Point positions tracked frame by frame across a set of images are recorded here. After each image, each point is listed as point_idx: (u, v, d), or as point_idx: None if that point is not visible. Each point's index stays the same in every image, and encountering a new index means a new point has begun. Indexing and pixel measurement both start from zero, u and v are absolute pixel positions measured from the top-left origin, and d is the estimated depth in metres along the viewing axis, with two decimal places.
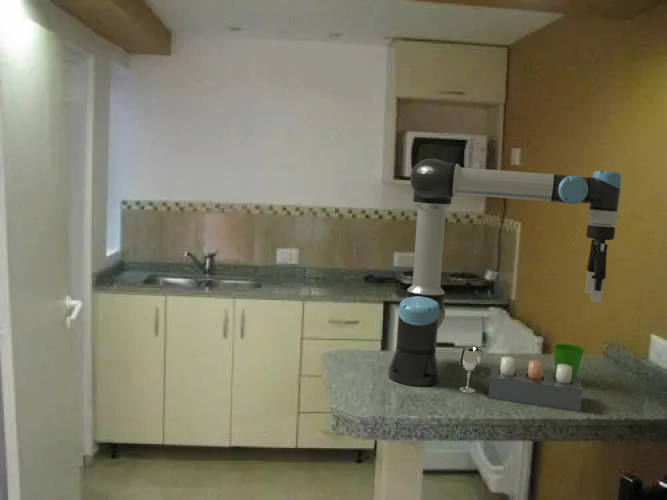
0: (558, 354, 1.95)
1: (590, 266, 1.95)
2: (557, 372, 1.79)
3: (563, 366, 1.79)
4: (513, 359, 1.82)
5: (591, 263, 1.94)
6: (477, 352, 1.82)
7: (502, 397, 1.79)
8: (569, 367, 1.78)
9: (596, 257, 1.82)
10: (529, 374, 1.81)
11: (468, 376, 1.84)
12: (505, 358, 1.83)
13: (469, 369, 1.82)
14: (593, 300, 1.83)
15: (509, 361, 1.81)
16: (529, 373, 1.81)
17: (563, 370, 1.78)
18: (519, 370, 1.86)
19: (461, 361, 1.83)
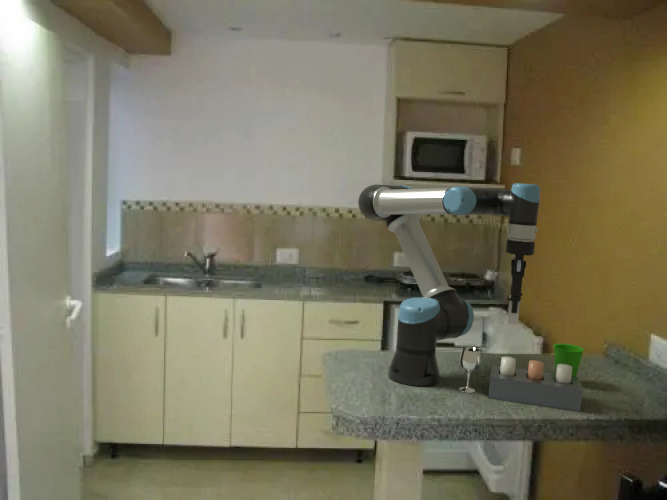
0: (558, 354, 1.95)
1: None
2: (557, 372, 1.79)
3: (563, 366, 1.79)
4: (513, 359, 1.82)
5: None
6: (477, 352, 1.82)
7: (502, 397, 1.79)
8: (569, 367, 1.78)
9: None
10: (529, 374, 1.81)
11: (468, 376, 1.84)
12: (505, 358, 1.83)
13: (469, 369, 1.82)
14: (510, 322, 1.78)
15: (509, 361, 1.81)
16: (529, 373, 1.81)
17: (563, 370, 1.78)
18: (519, 370, 1.86)
19: (461, 361, 1.83)
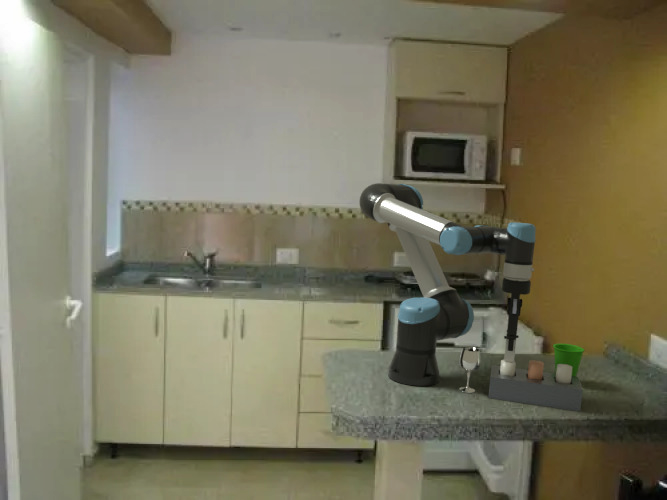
0: (558, 354, 1.95)
1: None
2: (557, 372, 1.79)
3: (563, 366, 1.79)
4: (513, 362, 1.83)
5: None
6: (477, 352, 1.82)
7: (502, 397, 1.79)
8: (569, 367, 1.78)
9: None
10: (529, 374, 1.81)
11: (468, 376, 1.84)
12: (505, 361, 1.83)
13: (469, 369, 1.82)
14: (506, 360, 1.82)
15: (509, 364, 1.81)
16: (529, 373, 1.81)
17: (563, 370, 1.78)
18: (519, 370, 1.86)
19: (461, 361, 1.83)
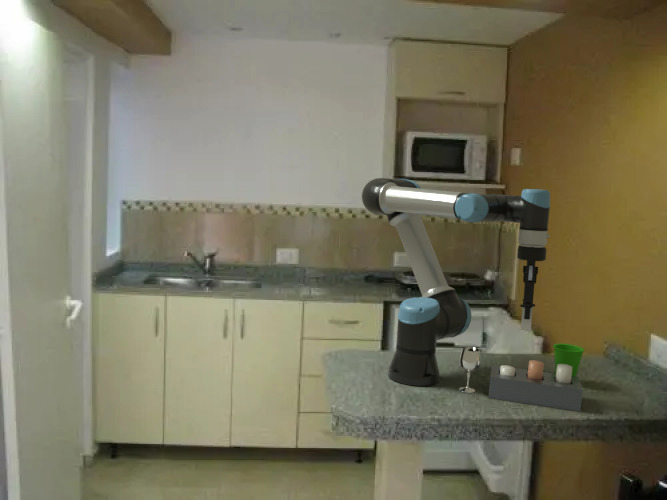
0: (558, 354, 1.95)
1: None
2: (557, 372, 1.79)
3: (563, 366, 1.79)
4: (512, 368, 1.83)
5: None
6: (477, 352, 1.82)
7: (502, 397, 1.79)
8: (569, 367, 1.78)
9: None
10: (529, 374, 1.81)
11: (468, 376, 1.84)
12: (504, 367, 1.83)
13: (469, 369, 1.82)
14: (523, 329, 1.80)
15: (508, 370, 1.81)
16: (529, 373, 1.81)
17: (563, 370, 1.78)
18: (519, 370, 1.86)
19: (461, 361, 1.83)
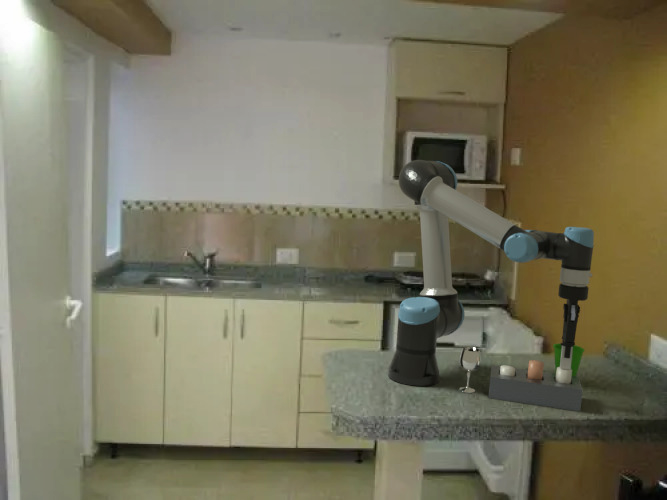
0: (558, 354, 1.95)
1: None
2: (557, 375, 1.79)
3: (563, 369, 1.79)
4: (512, 368, 1.83)
5: (565, 330, 1.79)
6: (477, 352, 1.82)
7: (502, 397, 1.79)
8: (569, 370, 1.78)
9: None
10: (529, 374, 1.81)
11: (468, 376, 1.84)
12: (504, 367, 1.83)
13: (469, 369, 1.82)
14: (562, 367, 1.79)
15: (508, 370, 1.81)
16: (529, 373, 1.81)
17: (563, 373, 1.78)
18: (519, 370, 1.86)
19: (461, 361, 1.83)
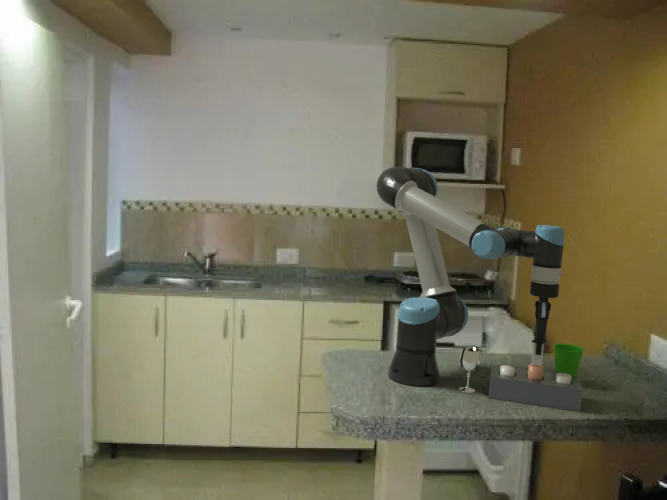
0: (558, 354, 1.95)
1: None
2: (556, 381, 1.79)
3: (562, 375, 1.79)
4: (512, 368, 1.83)
5: None
6: (477, 352, 1.82)
7: (502, 397, 1.79)
8: (568, 376, 1.79)
9: None
10: (529, 377, 1.81)
11: (468, 376, 1.84)
12: (504, 367, 1.83)
13: (469, 369, 1.82)
14: (534, 364, 1.81)
15: (508, 370, 1.81)
16: (529, 376, 1.81)
17: (562, 380, 1.78)
18: (519, 370, 1.86)
19: (461, 361, 1.83)
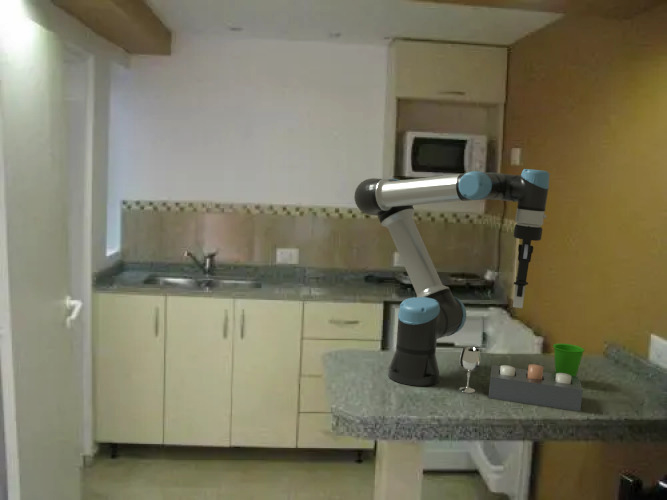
0: (558, 354, 1.95)
1: None
2: (556, 381, 1.79)
3: (562, 375, 1.79)
4: (512, 368, 1.83)
5: None
6: (477, 352, 1.82)
7: (502, 397, 1.79)
8: (568, 376, 1.79)
9: (519, 262, 1.80)
10: None
11: (468, 376, 1.84)
12: (504, 367, 1.83)
13: (469, 369, 1.82)
14: (515, 306, 1.84)
15: (508, 370, 1.81)
16: (529, 377, 1.81)
17: (562, 380, 1.78)
18: (519, 370, 1.86)
19: (461, 361, 1.83)
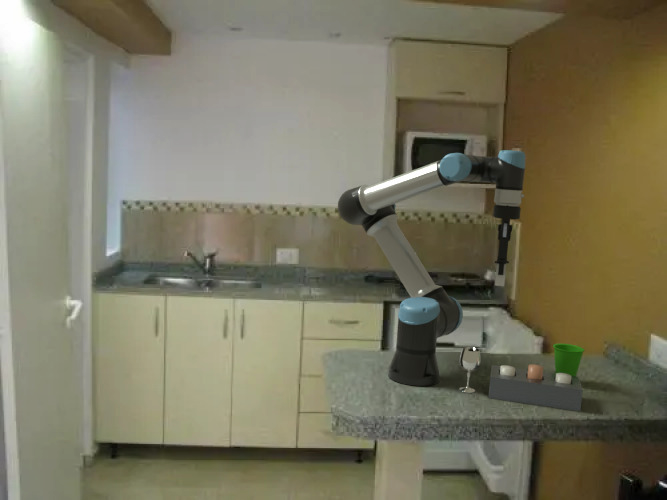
0: (558, 354, 1.95)
1: None
2: (556, 381, 1.79)
3: (562, 375, 1.79)
4: (512, 368, 1.83)
5: None
6: (477, 352, 1.82)
7: (502, 397, 1.79)
8: (568, 376, 1.79)
9: None
10: None
11: (468, 376, 1.84)
12: (504, 367, 1.83)
13: (469, 369, 1.82)
14: (497, 284, 1.89)
15: (508, 370, 1.81)
16: (529, 377, 1.81)
17: (562, 380, 1.78)
18: (519, 370, 1.86)
19: (461, 361, 1.83)
